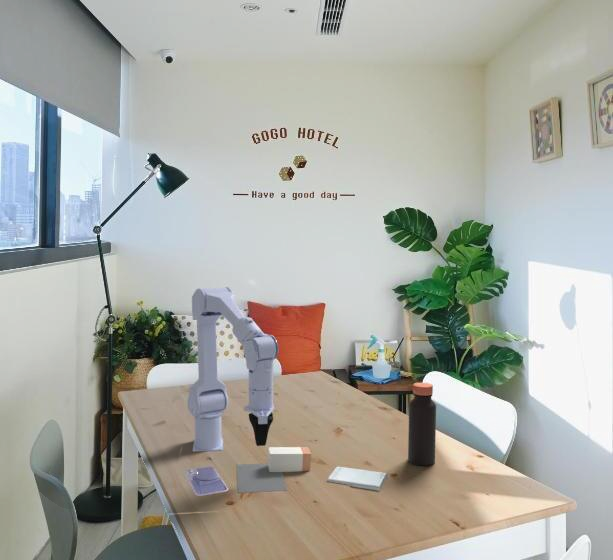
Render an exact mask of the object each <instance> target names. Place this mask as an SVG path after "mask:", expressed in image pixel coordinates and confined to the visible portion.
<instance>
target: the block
mask: <svg viewBox="0 0 613 560" xmlns="http://www.w3.org/2000/svg"><path fill="white" fill-rule="evenodd" d="M267 454H268V457H267V463H268V468H269V472H283V473H289V472H290V473H291V472H293V473H294V472H309V471H310V472H311V459H312V457H311V456H312V453H311V451H310V448H309V446H286V447H285V446H284V447H283V446H282V447H281V446H279V447H278V446H276V447H275V446H271V447H269V446H268V453H267Z"/></svg>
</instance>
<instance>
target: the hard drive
mask: <svg viewBox="0 0 613 560" xmlns="http://www.w3.org/2000/svg"><path fill="white" fill-rule="evenodd" d="M387 478H388V474H387V472H381V471H373V470H367V469H360V468H359V469H358V468H351V467H345V466H336V467H335V468H334V470H333V471H332V472H331V473H330V475H329V476H328V477H327V482H329V483H333V484H334V483H336V484H343V485H348V486H349V487H353V488H359V489H364V490H365V489H367V490H373V491H377V492H378V491H379V492H381V491H380V490H381V489H382V487H383V485H384V484H385V481H386V479H387Z"/></svg>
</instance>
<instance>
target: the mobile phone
mask: <svg viewBox="0 0 613 560" xmlns="http://www.w3.org/2000/svg"><path fill="white" fill-rule="evenodd" d="M183 473H184V476H185V477H186V479H187V481H188V483H189V484H190V487H191V489H192V491H193V493H194V495H196V496H199V497H200V496H206V495H212V494H218V493H224V492H227V491H228V490H229V488H228V487H227V485H226V483H225V482H224V481H223V479H222V478H221V477H222V476H220V475H219V473H218V472H217V470H216V469H215V467H213V466H206V467H198V468H193V469H187V470H185V471H184V472H183Z"/></svg>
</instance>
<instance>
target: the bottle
mask: <svg viewBox="0 0 613 560" xmlns="http://www.w3.org/2000/svg"><path fill="white" fill-rule="evenodd" d="M433 387H434V385H433V384H432V383H428V382H415V383H413V384H412V392H413V394H412V395H413V399H412V400H411V401H410V402H409V403H408V440H407V441H408V444H407V445H408V446H407V448H408V449H407V451H408V452H407V454H408V455H407V456H408V457H407V459H408V461H409V462H410V463H411V465H416V466H420V467H428V466H432V465H433V464H435V462H436V434H437V433H436V432H437V429H436V428H437V427H436V425H437V423H436V422H437V420H436V419H437V404H436V403H435V402H434V400H433V399H432V397H433V391H434V390H433Z"/></svg>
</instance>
